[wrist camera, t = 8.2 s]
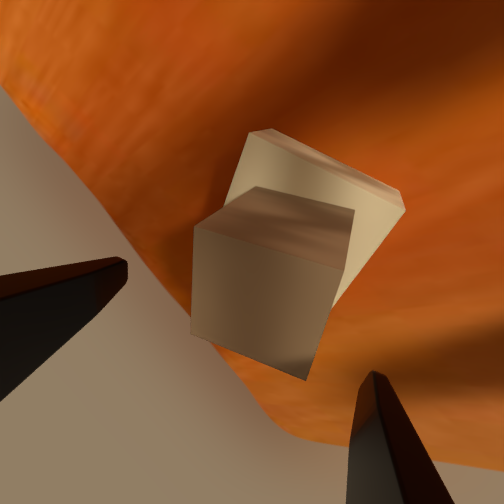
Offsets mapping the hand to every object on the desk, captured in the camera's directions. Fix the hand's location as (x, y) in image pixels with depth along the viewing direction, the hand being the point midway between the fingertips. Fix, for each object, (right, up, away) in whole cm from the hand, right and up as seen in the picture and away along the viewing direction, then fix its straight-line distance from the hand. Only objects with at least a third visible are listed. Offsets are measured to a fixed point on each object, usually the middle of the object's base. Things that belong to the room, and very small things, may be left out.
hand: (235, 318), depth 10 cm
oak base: (+4, +5, +9) cm, 11 cm away
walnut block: (+3, +3, +6) cm, 7 cm away
